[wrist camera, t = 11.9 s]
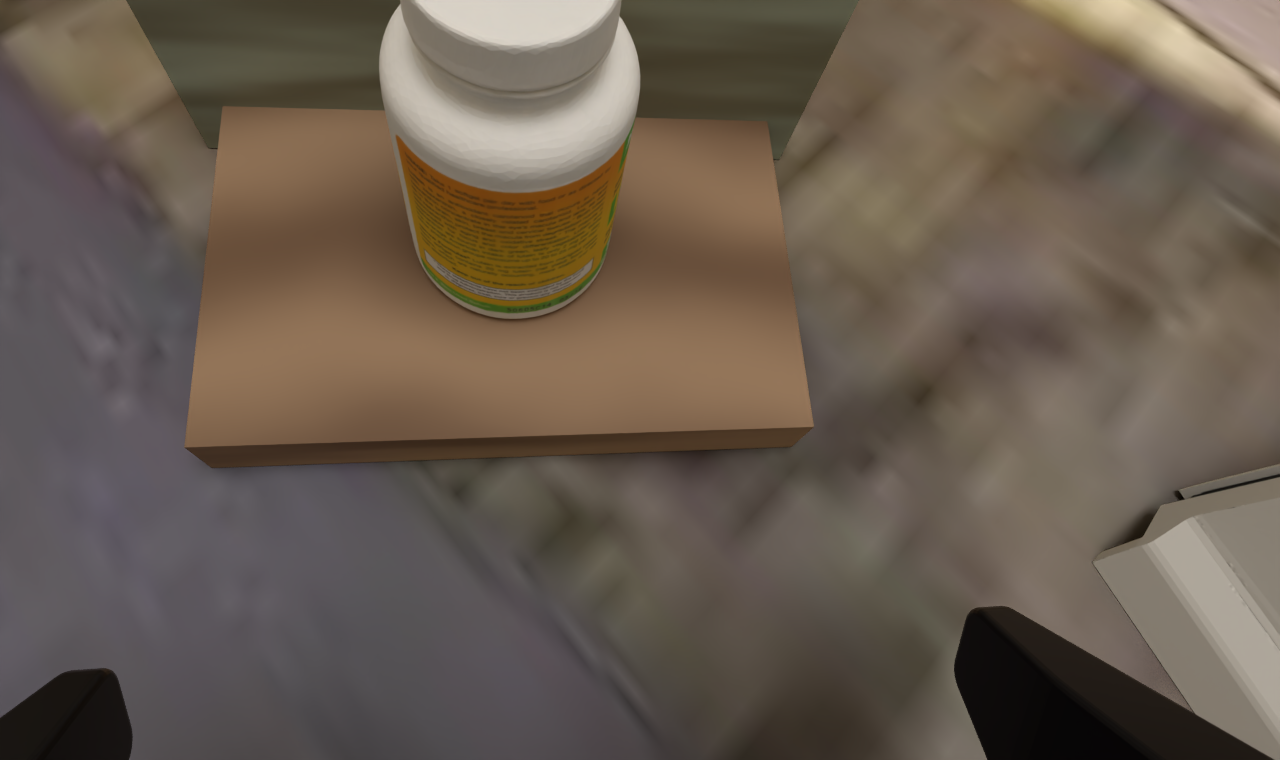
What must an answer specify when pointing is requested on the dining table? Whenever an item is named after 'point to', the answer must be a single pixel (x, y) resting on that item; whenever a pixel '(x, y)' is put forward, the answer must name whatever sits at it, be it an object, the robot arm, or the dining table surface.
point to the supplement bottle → (510, 143)
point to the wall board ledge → (443, 329)
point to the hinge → (1212, 600)
